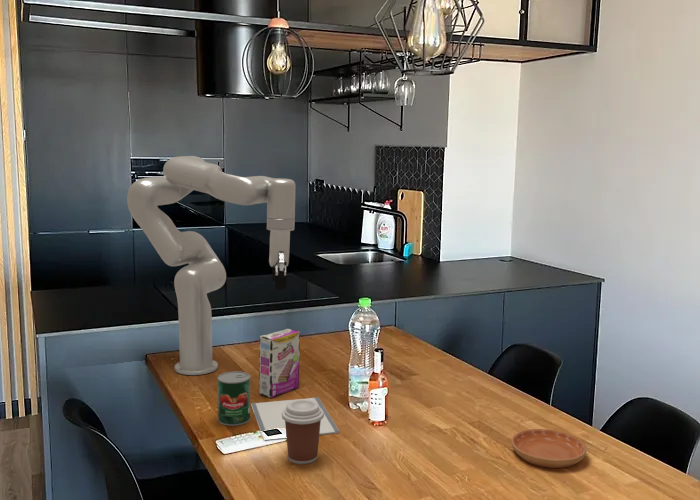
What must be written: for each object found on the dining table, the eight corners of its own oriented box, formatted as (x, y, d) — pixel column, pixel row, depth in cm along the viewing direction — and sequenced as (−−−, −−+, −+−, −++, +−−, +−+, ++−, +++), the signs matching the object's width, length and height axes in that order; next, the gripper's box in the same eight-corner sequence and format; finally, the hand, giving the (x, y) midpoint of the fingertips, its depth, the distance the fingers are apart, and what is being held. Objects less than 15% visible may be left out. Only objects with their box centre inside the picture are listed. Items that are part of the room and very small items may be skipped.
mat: (250, 405, 178) (250, 403, 178) (318, 398, 183) (318, 397, 183) (263, 441, 157) (263, 438, 157) (339, 432, 162) (339, 430, 162)
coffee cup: (332, 457, 149) (332, 405, 147) (300, 471, 143) (300, 417, 141) (305, 444, 156) (305, 393, 154) (273, 456, 150) (272, 404, 148)
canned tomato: (225, 428, 164) (225, 384, 162) (213, 417, 170) (212, 374, 168) (256, 421, 168) (255, 378, 166) (242, 410, 174) (242, 369, 173)
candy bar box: (271, 399, 182) (271, 339, 179) (258, 394, 185) (258, 336, 183) (300, 387, 191) (300, 330, 188) (287, 383, 194) (287, 327, 191)
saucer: (497, 456, 152) (498, 443, 151) (532, 434, 163) (533, 422, 163) (565, 480, 141) (566, 467, 141) (597, 455, 153) (598, 442, 152)
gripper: (265, 219, 195) (264, 278, 198) (268, 228, 178) (266, 292, 181) (292, 220, 196) (290, 278, 199) (297, 229, 179) (295, 292, 182)
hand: (279, 285), depth 190 cm, fingers open, 9 cm apart
